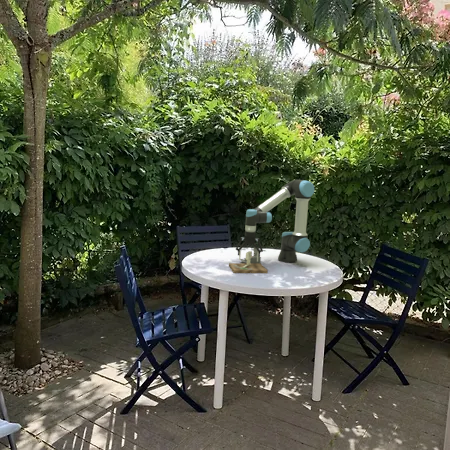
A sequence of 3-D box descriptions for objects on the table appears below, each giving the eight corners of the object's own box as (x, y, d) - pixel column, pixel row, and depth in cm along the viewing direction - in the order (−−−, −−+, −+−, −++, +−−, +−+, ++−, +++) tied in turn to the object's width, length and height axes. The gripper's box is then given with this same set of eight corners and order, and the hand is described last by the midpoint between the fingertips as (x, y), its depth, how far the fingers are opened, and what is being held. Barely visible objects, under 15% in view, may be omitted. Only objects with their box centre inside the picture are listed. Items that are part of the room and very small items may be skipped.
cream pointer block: (248, 264, 306) (249, 251, 305) (251, 264, 305) (252, 251, 304) (241, 268, 295) (242, 254, 293) (245, 268, 294) (246, 255, 292)
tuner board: (260, 266, 311) (260, 263, 311) (267, 273, 293) (267, 270, 293) (228, 265, 307) (228, 262, 307) (233, 273, 289) (234, 270, 288)
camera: (262, 249, 315) (243, 249, 311) (261, 264, 317) (242, 264, 313) (258, 246, 323) (240, 247, 319) (257, 261, 325) (239, 262, 321)
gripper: (233, 230, 296) (231, 260, 299) (267, 233, 294) (265, 262, 297) (233, 229, 303) (232, 257, 307) (267, 231, 301) (265, 260, 305)
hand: (248, 260), depth 302 cm, fingers open, 12 cm apart
